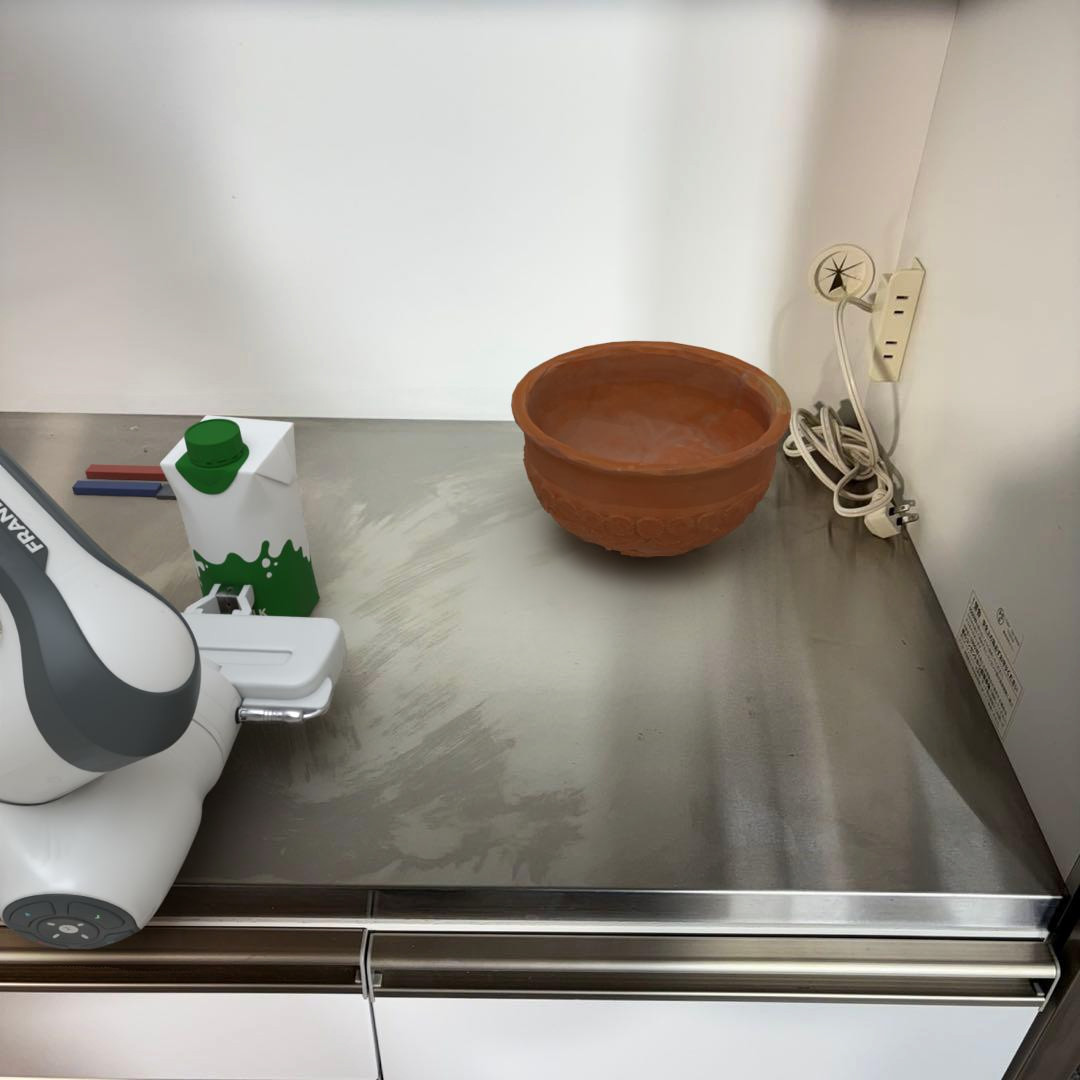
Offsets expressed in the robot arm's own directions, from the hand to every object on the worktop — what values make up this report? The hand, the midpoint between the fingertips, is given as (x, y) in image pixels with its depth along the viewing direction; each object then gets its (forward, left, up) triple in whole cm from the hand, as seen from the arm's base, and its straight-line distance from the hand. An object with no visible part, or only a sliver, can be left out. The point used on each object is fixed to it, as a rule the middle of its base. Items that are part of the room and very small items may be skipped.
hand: (235, 590), depth 77 cm
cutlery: (-17, +26, -7) cm, 31 cm away
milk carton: (0, +5, -7) cm, 9 cm away
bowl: (+33, +20, -7) cm, 39 cm away
